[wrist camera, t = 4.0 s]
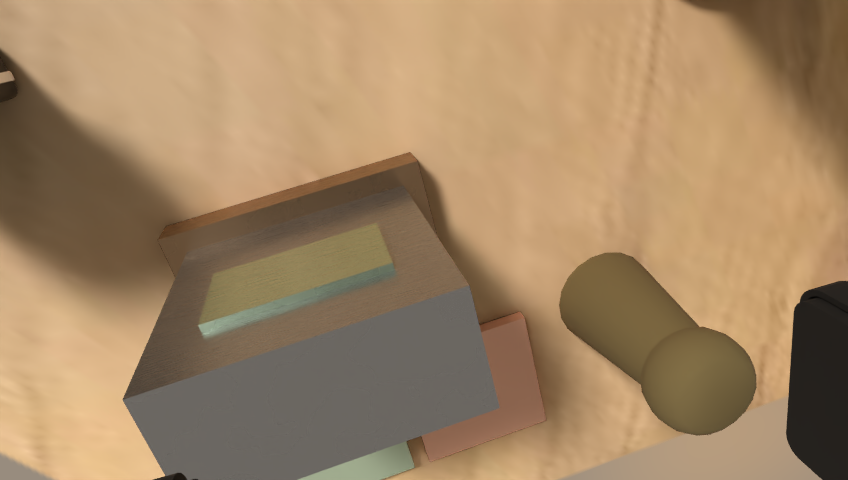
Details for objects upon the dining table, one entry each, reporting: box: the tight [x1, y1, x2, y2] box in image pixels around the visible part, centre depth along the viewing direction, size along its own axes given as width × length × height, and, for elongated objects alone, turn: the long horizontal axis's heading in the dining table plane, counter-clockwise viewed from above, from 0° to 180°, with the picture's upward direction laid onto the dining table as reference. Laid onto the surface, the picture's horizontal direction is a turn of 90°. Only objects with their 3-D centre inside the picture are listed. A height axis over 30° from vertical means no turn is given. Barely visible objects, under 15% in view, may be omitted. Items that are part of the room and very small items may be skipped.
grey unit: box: [123, 152, 500, 480], centre depth 26 cm, size 13×7×14 cm, turn 105°
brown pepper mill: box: [559, 253, 756, 435], centre depth 32 cm, size 6×6×11 cm
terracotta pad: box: [422, 312, 546, 462], centre depth 37 cm, size 8×8×1 cm
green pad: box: [298, 441, 415, 480], centre depth 36 cm, size 8×8×1 cm
